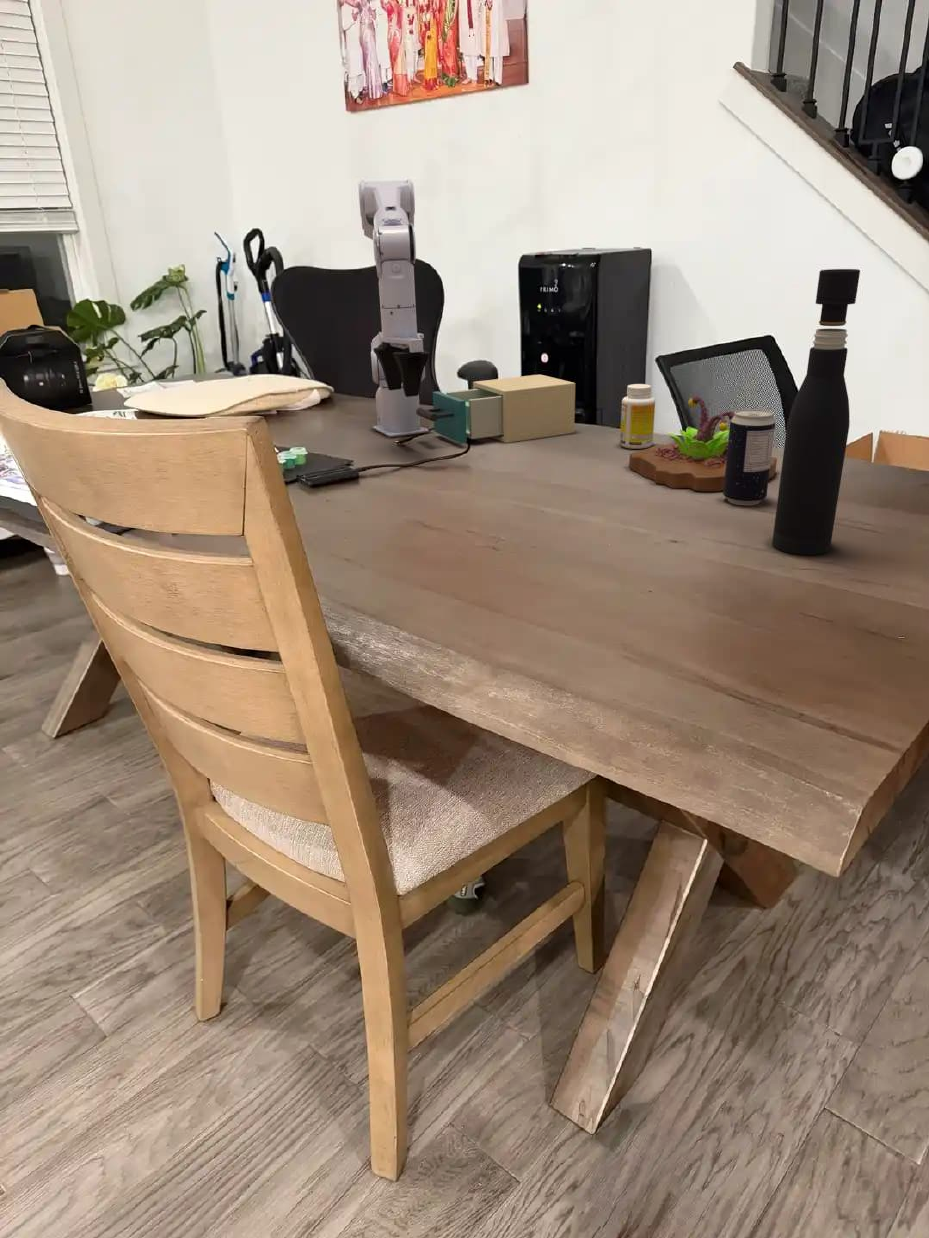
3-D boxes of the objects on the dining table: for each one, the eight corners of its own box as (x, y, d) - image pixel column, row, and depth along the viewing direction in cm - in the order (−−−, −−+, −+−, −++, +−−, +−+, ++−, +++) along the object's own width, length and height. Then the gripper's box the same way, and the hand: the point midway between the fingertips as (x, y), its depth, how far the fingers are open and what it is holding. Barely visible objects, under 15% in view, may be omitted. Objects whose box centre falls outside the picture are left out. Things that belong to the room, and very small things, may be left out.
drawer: (437, 446, 147) (435, 404, 144) (412, 434, 156) (409, 394, 153) (527, 434, 154) (527, 393, 150) (498, 423, 163) (497, 384, 160)
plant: (705, 450, 142) (711, 382, 137) (796, 476, 126) (806, 399, 121) (608, 467, 134) (611, 396, 129) (693, 497, 118) (700, 416, 113)
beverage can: (766, 496, 117) (776, 409, 112) (765, 508, 112) (776, 417, 107) (723, 494, 119) (732, 407, 114) (721, 505, 114) (729, 416, 109)
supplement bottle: (659, 446, 146) (663, 385, 142) (638, 451, 143) (641, 389, 138) (634, 441, 150) (637, 382, 146) (613, 446, 147) (615, 386, 142)
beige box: (505, 443, 152) (504, 391, 148) (474, 430, 162) (472, 381, 158) (574, 433, 157) (575, 383, 153) (539, 421, 168) (540, 374, 164)
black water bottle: (824, 559, 95) (868, 271, 82) (765, 550, 98) (800, 272, 86) (835, 542, 100) (878, 268, 87) (779, 534, 103) (813, 268, 90)
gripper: (439, 308, 132) (442, 396, 138) (404, 303, 144) (408, 384, 150) (397, 311, 129) (402, 401, 135) (364, 305, 141) (371, 388, 147)
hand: (403, 392), depth 142 cm, fingers open, 7 cm apart
